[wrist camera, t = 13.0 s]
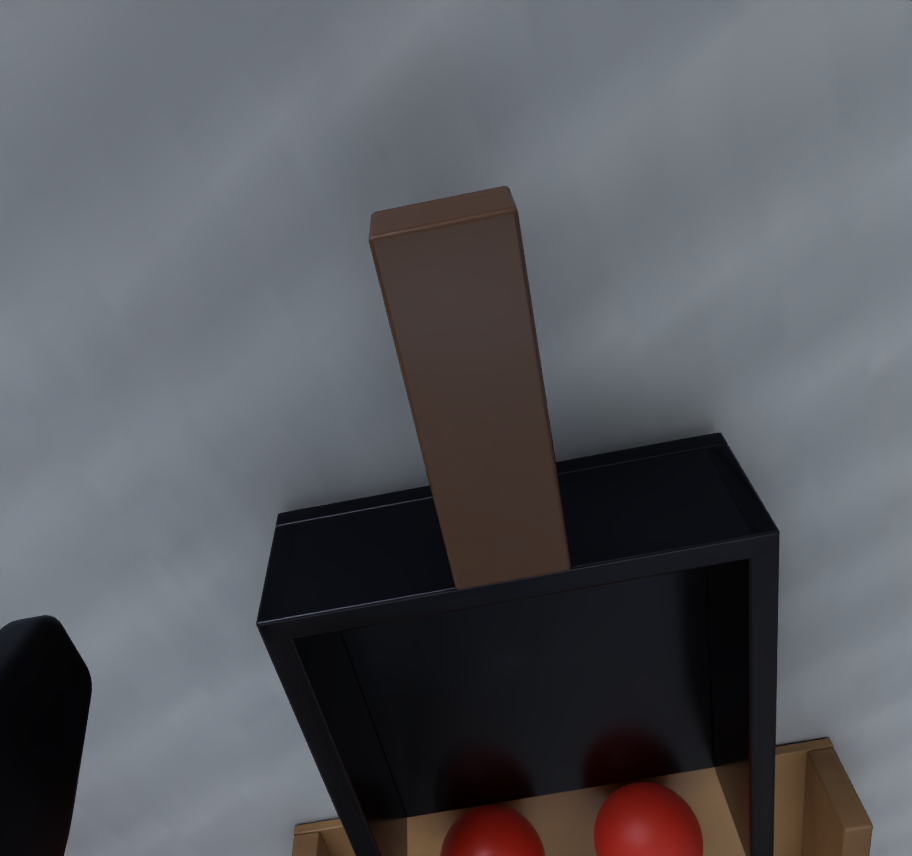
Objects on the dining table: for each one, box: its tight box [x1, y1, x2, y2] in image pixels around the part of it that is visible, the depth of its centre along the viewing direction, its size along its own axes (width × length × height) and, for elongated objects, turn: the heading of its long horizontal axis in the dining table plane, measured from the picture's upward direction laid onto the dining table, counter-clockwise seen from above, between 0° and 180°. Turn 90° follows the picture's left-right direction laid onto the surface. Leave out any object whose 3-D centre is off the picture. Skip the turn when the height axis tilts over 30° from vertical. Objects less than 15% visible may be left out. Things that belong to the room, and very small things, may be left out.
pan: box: [256, 186, 779, 856], centre depth 19 cm, size 18×10×4 cm, turn 11°
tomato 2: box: [594, 782, 703, 856], centre depth 24 cm, size 3×3×3 cm
